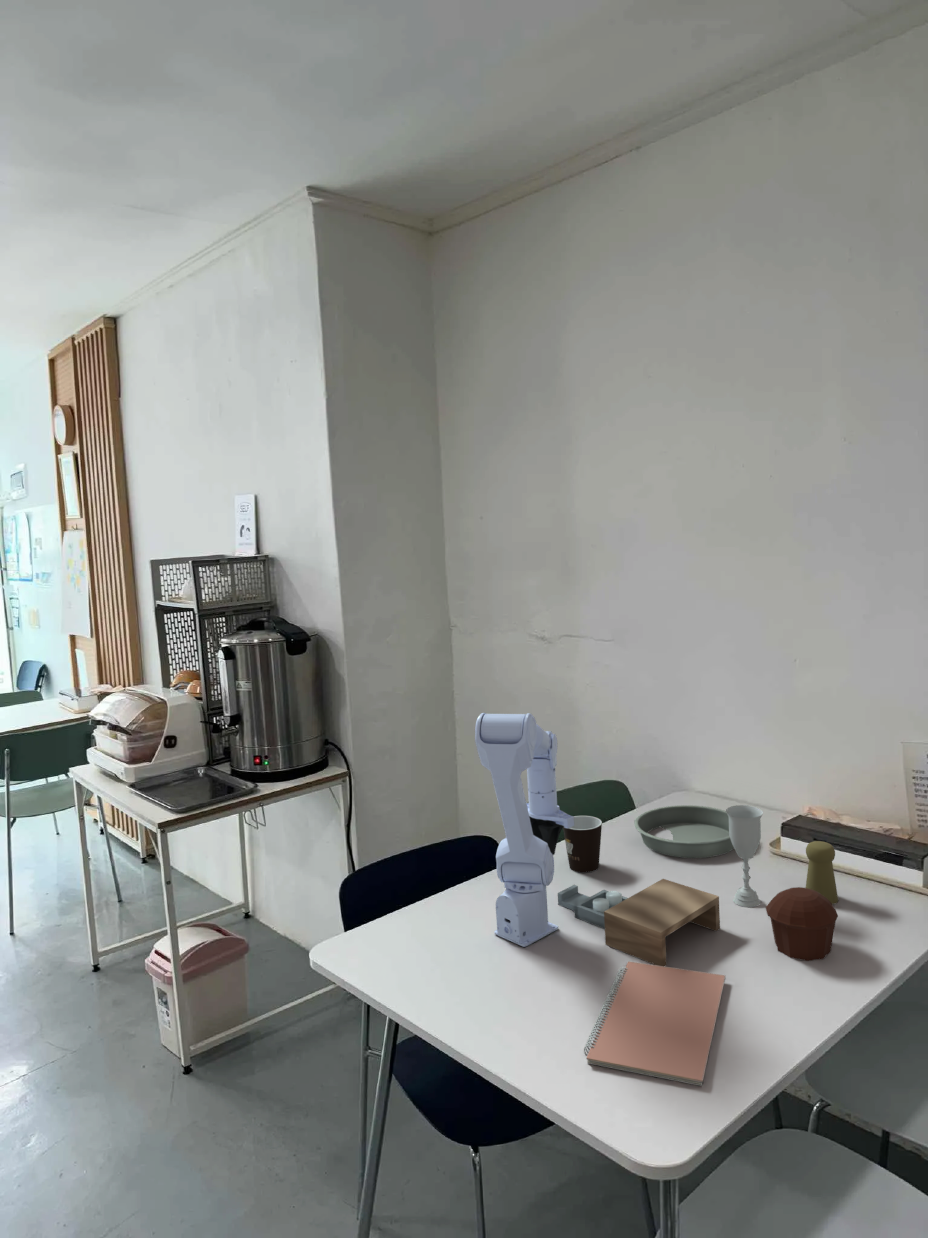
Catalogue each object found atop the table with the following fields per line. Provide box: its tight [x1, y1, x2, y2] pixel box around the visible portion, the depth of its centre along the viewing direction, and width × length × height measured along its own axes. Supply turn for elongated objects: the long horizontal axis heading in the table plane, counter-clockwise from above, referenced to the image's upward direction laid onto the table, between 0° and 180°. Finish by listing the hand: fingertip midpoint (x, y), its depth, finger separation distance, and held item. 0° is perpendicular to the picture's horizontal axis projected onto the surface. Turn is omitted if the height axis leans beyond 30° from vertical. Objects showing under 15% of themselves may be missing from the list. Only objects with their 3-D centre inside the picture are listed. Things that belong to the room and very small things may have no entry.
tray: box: [557, 884, 628, 930], centre depth 164 cm, size 9×15×4 cm, turn 42°
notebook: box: [583, 960, 726, 1087], centre depth 128 cm, size 27×17×2 cm, turn 157°
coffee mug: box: [562, 815, 603, 874], centre depth 187 cm, size 12×9×10 cm
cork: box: [805, 840, 839, 906], centre depth 163 cm, size 6×6×11 cm
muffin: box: [765, 886, 839, 962], centre depth 145 cm, size 12×11×10 cm
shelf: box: [604, 878, 721, 967], centre depth 152 cm, size 18×12×6 cm, turn 132°
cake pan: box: [633, 804, 735, 859], centre depth 197 cm, size 25×25×4 cm
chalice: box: [725, 804, 764, 908], centre depth 163 cm, size 7×7×18 cm
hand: (545, 854), depth 173 cm, fingers closed
